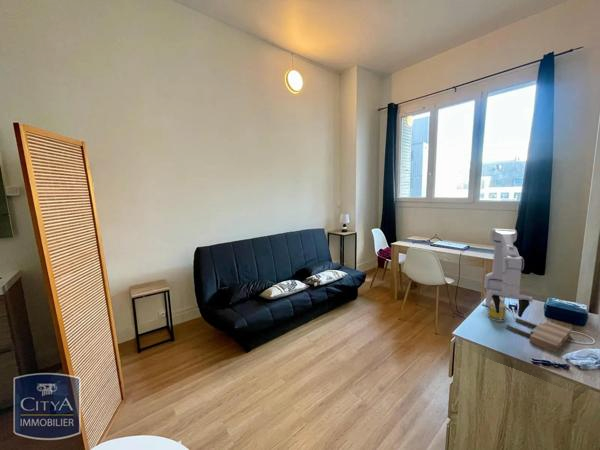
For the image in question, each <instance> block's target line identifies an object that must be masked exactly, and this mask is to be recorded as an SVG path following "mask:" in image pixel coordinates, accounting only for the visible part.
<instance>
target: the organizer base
mask: <svg viewBox="0 0 600 450" xmlns="http://www.w3.org/2000/svg"><path fill="white" fill-rule="evenodd" d="M515 322H517V323H520V324H521V325H525V326H528V327H531V328H533V329H532V330H530V332H527V331H526V330H522V329H520V328H517V327H515V326H513V325H509V324H506V326H505V329H507V330H509V331H511V332H515V333H517V334H519V335H522V336H525V337H528V338H529V343H531V344H534V345H537V346H538V347H541V348H544V349H545V350H548V351H551V352H554V353H557V351H559V349H560V348H561V347H562V346H563V345H564V343H565V342H566V341H567V340H568V339H569V337H571V333H572V329H571V328H568V327H564V326H562V325H559V324H556V323H552V322H550V321H545V322H544V323H542V322H540V323H539V324H537V323H534V322H530V321H528V320H524V319H522V318H520V317H515Z"/></svg>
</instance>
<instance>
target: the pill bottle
mask: <svg viewBox="0 0 600 450" xmlns="http://www.w3.org/2000/svg"><path fill="white" fill-rule="evenodd" d="M505 300H506V298H505V299H504V298H502V297H500V305H499V313H497V312H496V308H495V304H494V301H493V298H492V301H491V302H490V307H489V309H488V318H490V319H491V320H492V321H496V322H500V323H501V322H504V321H505V319H506V311H507V304H506V303H505V302H506V301H505Z"/></svg>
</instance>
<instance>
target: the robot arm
mask: <svg viewBox="0 0 600 450" xmlns="http://www.w3.org/2000/svg"><path fill="white" fill-rule="evenodd" d="M489 237H490V238H489V243H493V244H494V249H493V260H492V269H491V270H492V271H491V272H489V273H485V275H484V280H483V288H484V289H486V294H485V296H486V297H485V301H484V302H483V303H481V305H483V306H485V307H488V308H490V302H491V301H492V298H493V301H494V304H495V308H496V312H497V313H499V305H500V297H502V298H504V299H505V300H506V299H511V300H512V299H514V300H518V311H517V316H518V318H522V317H523V314H524V312H525V311H526V309H527V308H528V307H529V306H530V304H531V303H533V301H534V297H532V296H530V295H527V294H526V295H525V294H520V287H521V275H522V271H523V270H524V268H525V259H524V257H522V256H520V254H519V251H518V247H516V246H515V245H514V243H515V242H516V241H517V237H518V231H517V230H516V229H512V228H511V229H510V228H509V229H506V228H491V230H490V236H489Z"/></svg>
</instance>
